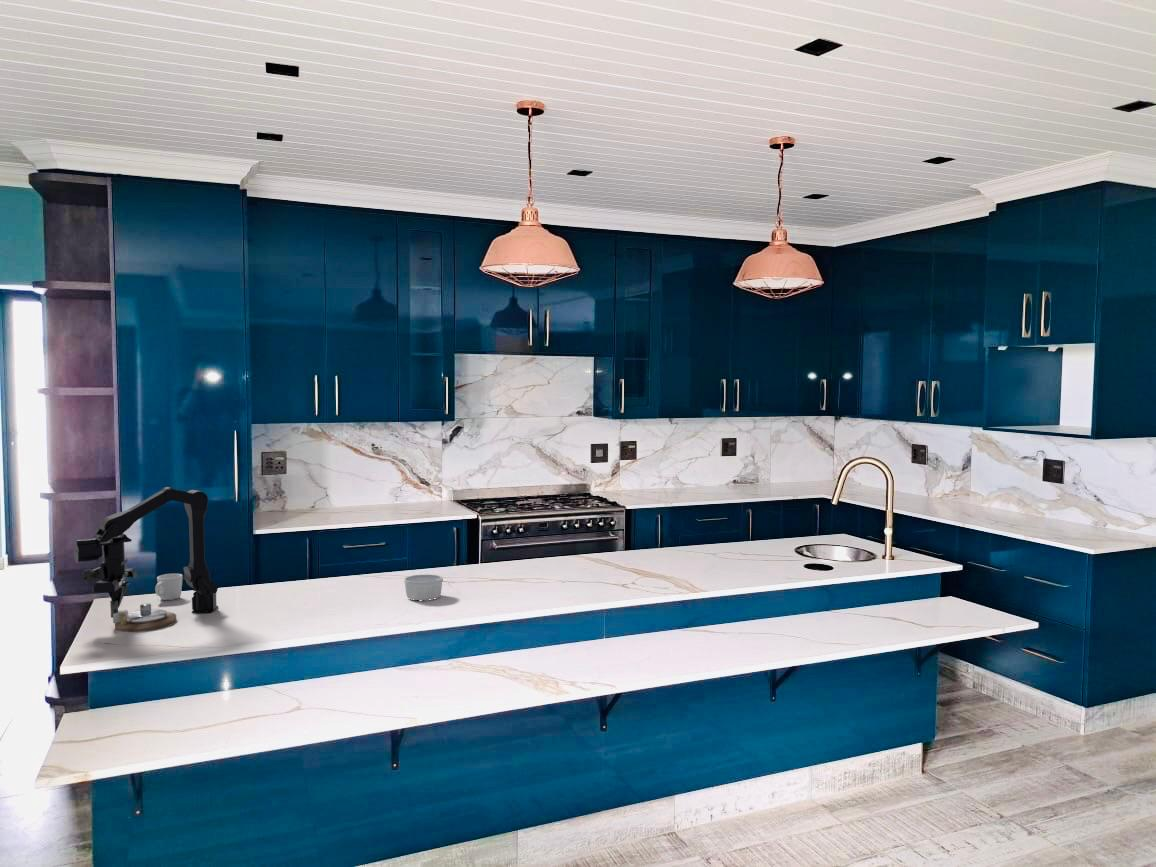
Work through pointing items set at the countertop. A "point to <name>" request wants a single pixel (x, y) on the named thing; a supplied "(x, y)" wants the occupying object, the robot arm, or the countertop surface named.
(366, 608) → the countertop surface
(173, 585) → the cup
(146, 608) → the light grey irregular piece
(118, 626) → the plinth
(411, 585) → the ramekin
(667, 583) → the countertop surface
